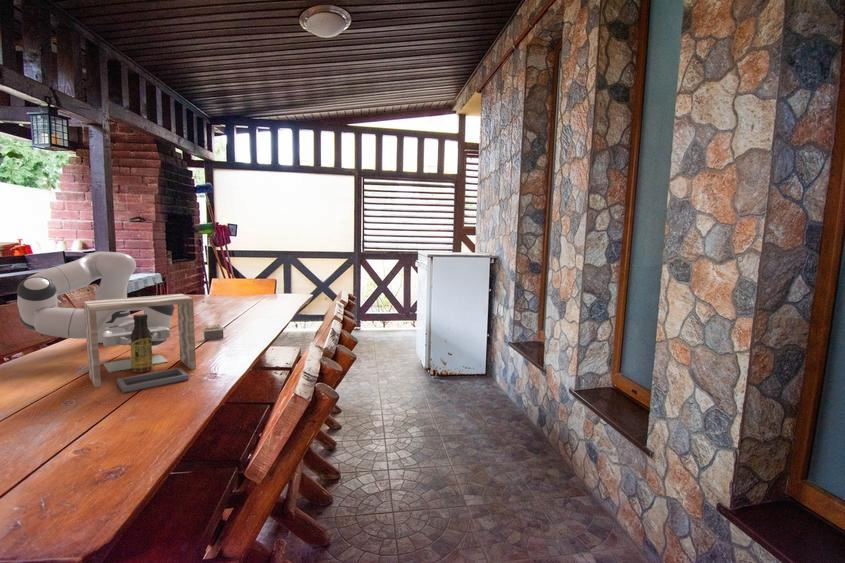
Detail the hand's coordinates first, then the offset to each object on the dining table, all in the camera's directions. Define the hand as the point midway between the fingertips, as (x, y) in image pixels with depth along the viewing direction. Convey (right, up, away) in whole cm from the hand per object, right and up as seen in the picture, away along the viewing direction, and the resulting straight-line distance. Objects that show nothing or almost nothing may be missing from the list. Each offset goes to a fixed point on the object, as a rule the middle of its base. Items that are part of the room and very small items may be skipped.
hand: (141, 340), depth 149 cm
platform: (+2, -6, +48) cm, 48 cm away
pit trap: (+10, -12, -9) cm, 18 cm away
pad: (-9, -10, +10) cm, 16 cm away
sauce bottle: (-1, -11, +2) cm, 11 cm away
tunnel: (+1, -11, 0) cm, 11 cm away
